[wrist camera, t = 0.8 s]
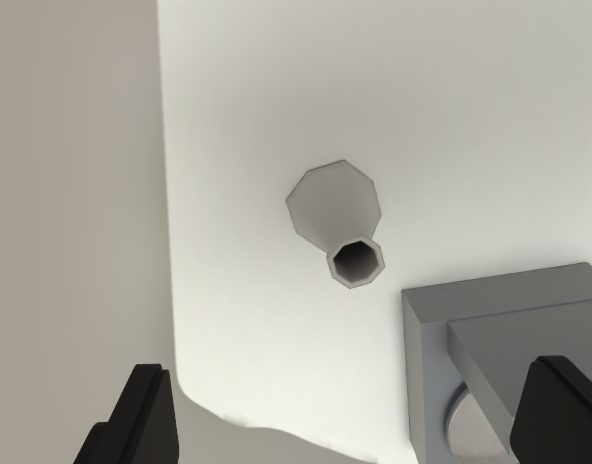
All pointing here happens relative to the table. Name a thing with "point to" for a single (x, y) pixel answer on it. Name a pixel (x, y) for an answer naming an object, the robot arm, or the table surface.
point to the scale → (489, 346)
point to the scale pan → (473, 435)
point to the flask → (340, 221)
